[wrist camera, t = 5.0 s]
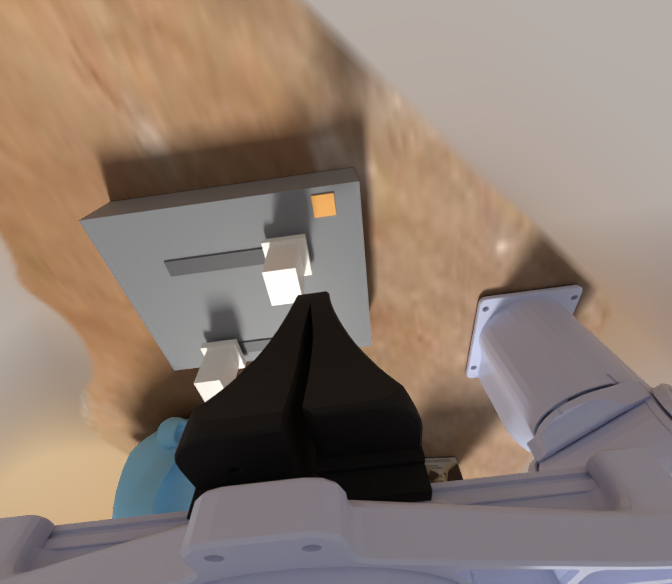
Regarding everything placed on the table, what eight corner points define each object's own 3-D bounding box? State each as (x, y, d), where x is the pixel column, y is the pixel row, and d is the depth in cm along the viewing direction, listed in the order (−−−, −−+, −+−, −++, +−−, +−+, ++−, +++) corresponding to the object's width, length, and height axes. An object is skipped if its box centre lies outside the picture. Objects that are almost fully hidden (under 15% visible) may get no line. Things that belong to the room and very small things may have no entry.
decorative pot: (247, 486, 41) (222, 638, 30) (122, 450, 34) (30, 629, 23) (325, 430, 34) (331, 598, 23) (189, 372, 28) (106, 570, 17)
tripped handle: (312, 270, 18) (311, 303, 16) (272, 275, 18) (265, 309, 16) (304, 233, 17) (303, 263, 14) (262, 239, 17) (252, 269, 14)
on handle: (246, 362, 23) (237, 401, 20) (214, 366, 23) (200, 405, 20) (236, 338, 21) (224, 377, 18) (202, 343, 21) (185, 382, 19)
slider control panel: (366, 319, 25) (372, 346, 23) (187, 342, 26) (173, 371, 23) (353, 167, 18) (359, 181, 16) (109, 201, 19) (77, 221, 16)
